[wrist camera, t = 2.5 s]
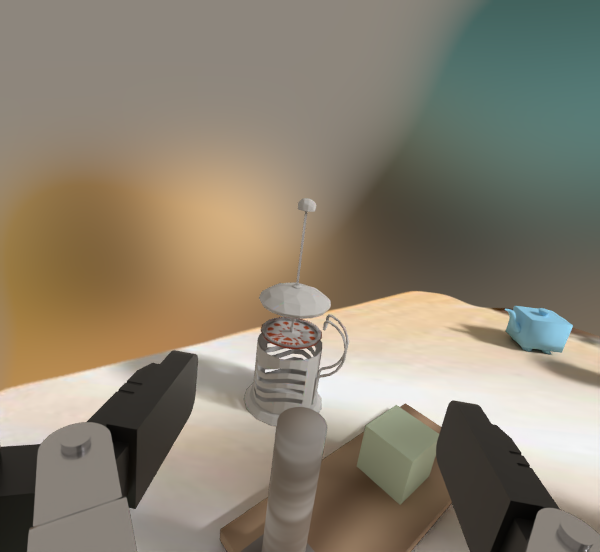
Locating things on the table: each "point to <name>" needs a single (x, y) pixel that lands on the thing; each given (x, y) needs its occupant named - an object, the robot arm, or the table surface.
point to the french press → (290, 347)
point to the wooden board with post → (332, 498)
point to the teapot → (538, 329)
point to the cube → (397, 452)
